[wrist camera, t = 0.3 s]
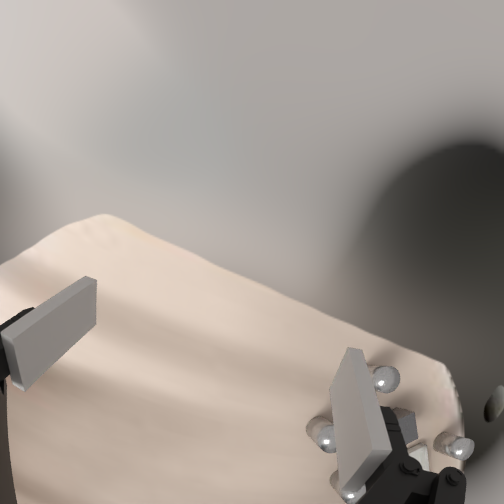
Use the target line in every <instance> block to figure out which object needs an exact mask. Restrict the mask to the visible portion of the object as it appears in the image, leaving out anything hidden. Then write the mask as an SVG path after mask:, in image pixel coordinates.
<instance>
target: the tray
mask: <svg viewBox="0 0 504 504" xmlns="http://www.w3.org/2000/svg"><path fill="white" fill-rule="evenodd" d="M407 450H408V454H409V456H411V457H413V458H415V459H416V460H418V461H419V462H420V464H421V466H422V469H423V470H426V471H429V463H428V453H427V445H426V444H423V443H420V444H418V445H416V446H414V447H412V448H409V449H407Z"/></svg>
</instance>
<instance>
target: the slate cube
mask: <svg viewBox="0 0 504 504" xmlns="http://www.w3.org/2000/svg"><path fill="white" fill-rule="evenodd" d="M392 411H393V412H394V413H395V414H396V416H397V419H398V422H399V426H400V428H401V432H402V434H403V438H404V441H405V444H408V443H410V442H412V441H414V440H416V439H418V433H417V426H416V420H415V413H414V412H412V411H408V410H405V409H401V408H395V409H392Z"/></svg>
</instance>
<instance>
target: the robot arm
mask: <svg viewBox="0 0 504 504" xmlns="http://www.w3.org/2000/svg"><path fill="white" fill-rule="evenodd" d="M96 290H97V280H96V279H93V278H90V277H87V276H84V277H83V278H81V279H80V280H78V281H76V282H75V283H73V284H72V285H70V286H69V287H67V288H65V289H64V290H62V291H61V292H59V293H58V294H56V295H55V296H53V297H51V298H50V299H48V300H47V301H45V302H44V303H42V304H41V305H39V306H38V307H36V308H33V307H32V308H28V309H25V310H23V311H21V312H20V313H18V314H17V315H16V316H14V317H12V318H11V319H9V320H8V321H6V322H5V323H3V324H2V325H0V504H17V500H16V495H15V489H14V483H13V476H12V469H11V461H10V452H9V441H8V427H7V384H6V379H5V378H6V377H7V376H8V375H9V374H10V376H11V380H12V383H13V385H15V386H16V387H18V388H19V389H21V390H23V391H24V392H25V391H26V390H27V389H28V388H29V387H30V386H31V385H32V384H33V383H34V382H35V381H36V380H37V379H38V378H40V377H41V376H42V375H43V374H44V373H45V372H46V371H47V370H48V369H49V368H50V367H51V366H52V365H53V364H54V363H55V362H56V361H57V360H58V359H59V358H60V357H61V356H63V355H64V354H65V353H66V352H67V351H68V350H69V349H70V348H71V347H72V346H73V345H74V344H75V343H76V342H78V341H79V340H80V339H81V338H82V337H83V336H84V335H85V334H86V333H87V332H88V331H89V330H91V329H92V328H93V327H94V326H95V325H96ZM329 391H330V398H331V406H332V415H333V423H334V432H335V441H336V451H337V461H338V472H339V483H340V491H352V492H358V491H359V490H360V489H361V488H362V487H363V486H364V484H365V487H366V493H365V494H364V495H363V496H362V497H361V498H360V499H359V500H358V501H357V502H356V503H355V504H464V501H465V492H466V478H465V476H464V474H463V473H462V472H461V471H460V470H459V469H457V468H455V467H446V468H444V469H443V470H442V471H441V472H440V473H439V474H437V473H433V472H429V471H426V470H423V469H422V466H421V464H420V462H419V461H418V460H416V459H415V458H413V457H411V456H409V454H408V450H407V447H406V444H405V441H404V438H403V434H402V432H401V428H400V426H399V422H398V419H397V416H396V414H395V413H394V412H393V411H392V410H391V408H390V407H383V406H380V405H379V402H378V399H377V395H376V392H375V389H374V385H373V382H372V379H371V376H370V373H369V370H368V367H367V363H366V360H365V357H364V354H363V351H362V350H360V349H355V348H350V347H348V348H347V351H346V353H345V355H344V358H343V360H342V362H341V364H340V367H339V369H338V371H337V373H336V376H335V378H334V380H333V382H332V384H331V386H330V389H329Z"/></svg>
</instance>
